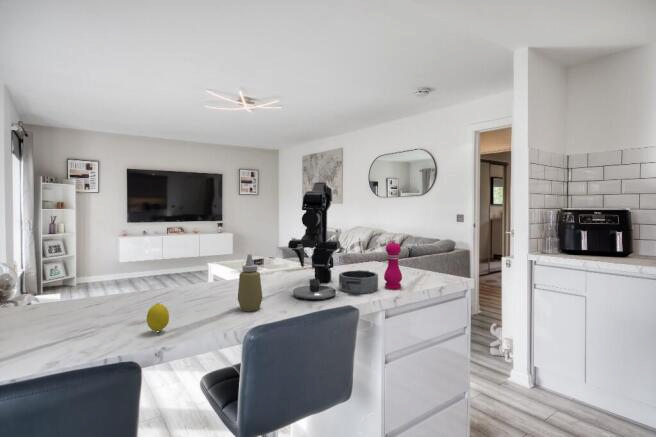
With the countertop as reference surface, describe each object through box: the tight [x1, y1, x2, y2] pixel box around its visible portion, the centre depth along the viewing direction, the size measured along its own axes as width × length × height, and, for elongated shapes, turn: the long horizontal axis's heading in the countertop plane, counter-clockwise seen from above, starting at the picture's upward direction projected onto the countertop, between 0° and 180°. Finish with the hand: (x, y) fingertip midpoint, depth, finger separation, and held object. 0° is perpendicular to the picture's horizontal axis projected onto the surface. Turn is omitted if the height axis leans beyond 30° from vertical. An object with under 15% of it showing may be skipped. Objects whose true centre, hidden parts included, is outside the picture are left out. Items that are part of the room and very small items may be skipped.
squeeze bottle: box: [237, 254, 263, 312], centre depth 122 cm, size 8×8×18 cm
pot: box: [338, 269, 379, 295], centre depth 149 cm, size 15×21×6 cm
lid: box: [292, 278, 337, 301], centre depth 140 cm, size 16×16×6 cm
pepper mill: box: [383, 238, 403, 291], centre depth 151 cm, size 7×7×20 cm
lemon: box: [146, 302, 170, 332], centre depth 101 cm, size 6×6×8 cm
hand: (314, 267), depth 139 cm, fingers open, 9 cm apart
